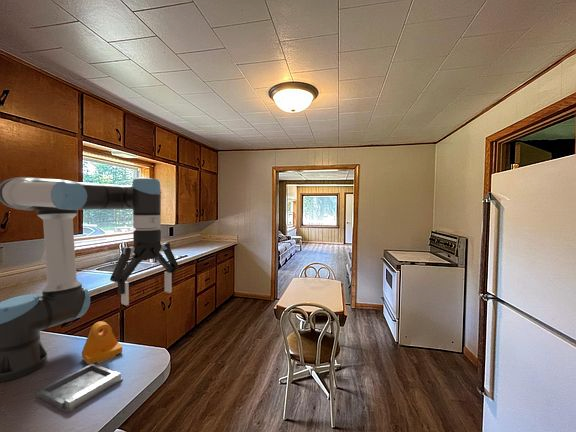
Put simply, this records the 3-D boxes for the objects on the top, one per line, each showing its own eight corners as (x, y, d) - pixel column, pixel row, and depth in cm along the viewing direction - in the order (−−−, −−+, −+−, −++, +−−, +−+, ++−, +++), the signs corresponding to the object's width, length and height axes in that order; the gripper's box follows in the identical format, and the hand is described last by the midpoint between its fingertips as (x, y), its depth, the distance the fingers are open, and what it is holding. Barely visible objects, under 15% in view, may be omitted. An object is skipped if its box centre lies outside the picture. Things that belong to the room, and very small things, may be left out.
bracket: (88, 367, 92) (87, 332, 92) (82, 359, 97) (81, 326, 96) (123, 354, 100) (122, 322, 100) (115, 347, 105) (115, 316, 105)
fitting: (37, 396, 78) (37, 388, 78) (93, 368, 91) (92, 361, 91) (67, 413, 72) (67, 403, 71) (122, 380, 85) (122, 372, 85)
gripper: (108, 233, 71) (109, 313, 71) (189, 227, 92) (189, 289, 92) (95, 231, 75) (96, 307, 75) (175, 226, 96) (176, 285, 96)
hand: (148, 297), depth 84 cm, fingers open, 13 cm apart
